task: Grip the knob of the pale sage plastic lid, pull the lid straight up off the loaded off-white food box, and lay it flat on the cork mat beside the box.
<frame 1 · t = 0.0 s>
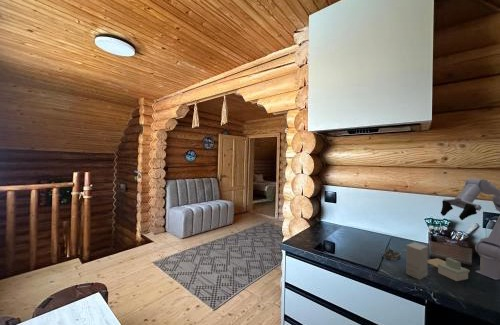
hand: (451, 216, 102), 32 cm above the worktop, tool tilted 50°, fingers open, 7 cm apart
skincare box: (416, 275, 108), on the worktop
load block: (452, 275, 108), resting on food box
lid: (453, 268, 107), point 4 cm above the worktop
food box: (452, 276, 108), on the worktop, touching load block
cork mat: (441, 264, 119), on the worktop
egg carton: (392, 258, 128), on the worktop
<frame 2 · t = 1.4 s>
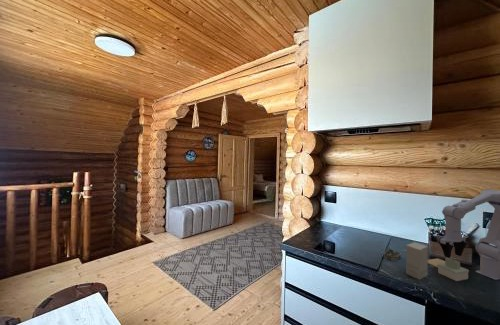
hand: (452, 256, 107), 10 cm above the worktop, tool pointing down, fingers open, 7 cm apart
lid: (452, 268, 108), point 4 cm above the worktop, touching food box
food box: (452, 276, 108), on the worktop, touching lid, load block
everything else where it was.
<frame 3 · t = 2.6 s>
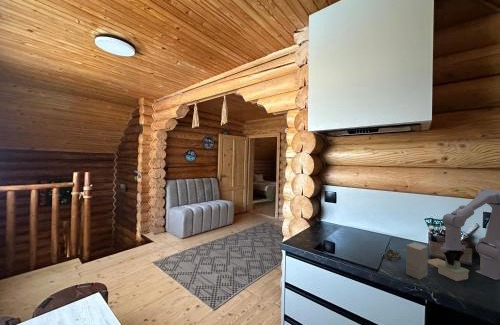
hand: (452, 264, 107), 6 cm above the worktop, tool pointing down, fingers closed on lid, 2 cm apart
lid: (452, 268, 108), point 4 cm above the worktop, touching food box, gripper
everything else where it was.
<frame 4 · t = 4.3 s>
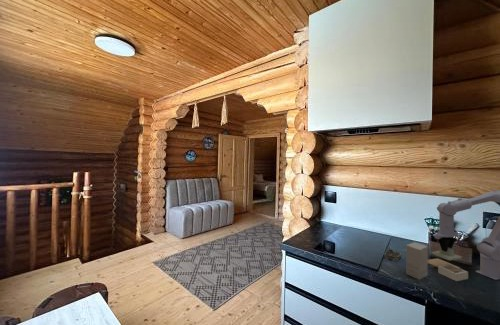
hand: (446, 250, 114), 10 cm above the worktop, tool pointing down, fingers closed on lid, 2 cm apart
lid: (446, 255, 113), point 8 cm above the worktop, touching gripper
food box: (452, 276, 108), on the worktop, touching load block
everything else where it was.
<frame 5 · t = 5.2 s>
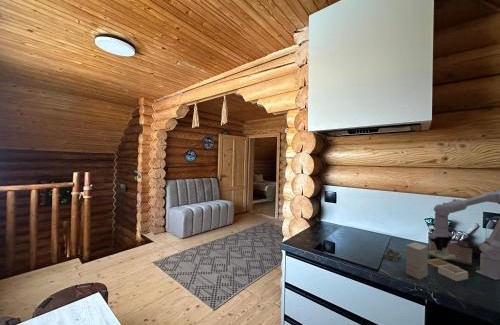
hand: (441, 249, 119), 9 cm above the worktop, tool pointing down, fingers closed on lid, 2 cm apart
lid: (441, 255, 119), point 6 cm above the worktop, touching gripper
everything else where it was.
when the fingers open (5 cm above the worktop, at t = 6.0 s): lid stays where it is, resting on cork mat.
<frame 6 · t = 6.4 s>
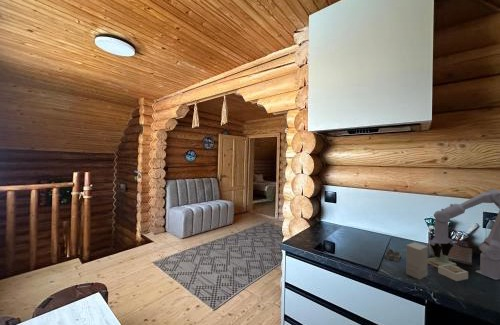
hand: (441, 256, 119), 5 cm above the worktop, tool pointing down, fingers open, 5 cm apart
lid: (441, 262, 119), point 1 cm above the worktop, touching cork mat
everything else where it was.
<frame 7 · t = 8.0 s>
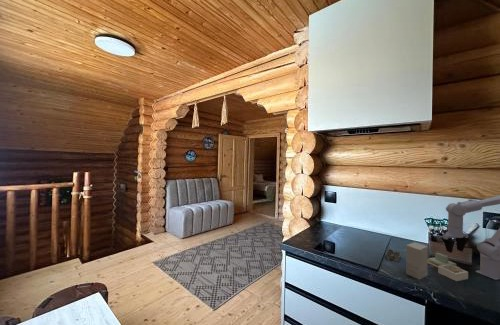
hand: (454, 251, 113), 10 cm above the worktop, tool pointing down, fingers open, 7 cm apart
nothing on the worktop moved.
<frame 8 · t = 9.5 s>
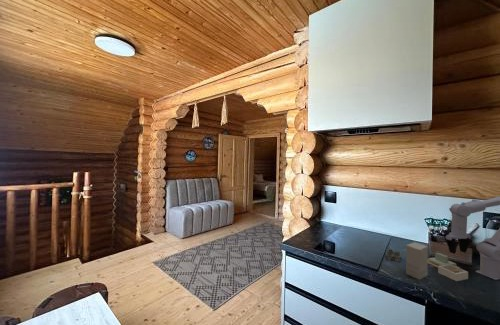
hand: (457, 252, 111), 10 cm above the worktop, tool pointing down, fingers open, 7 cm apart
at the end: lid 0.3 cm off-centre on the cork mat, point 1.4 cm above the cork mat's base; lid tilted 0°; food box moved 0.3 cm from its start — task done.
